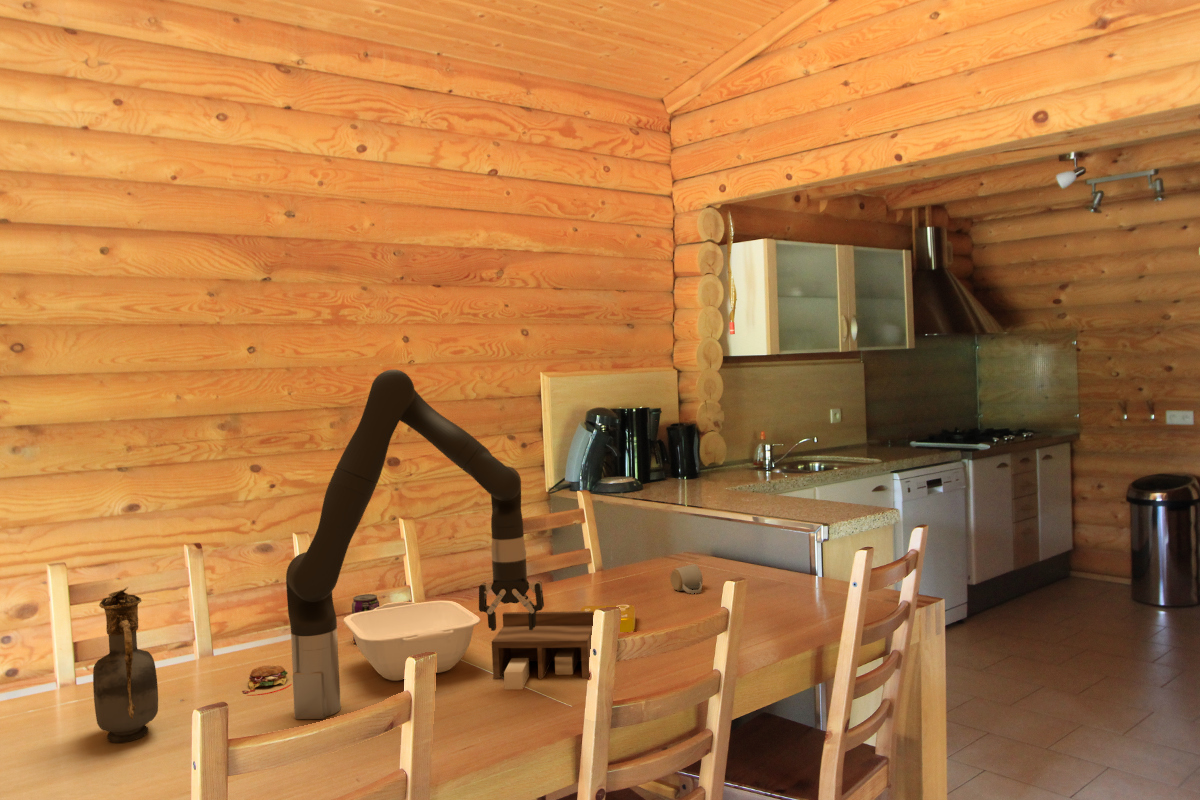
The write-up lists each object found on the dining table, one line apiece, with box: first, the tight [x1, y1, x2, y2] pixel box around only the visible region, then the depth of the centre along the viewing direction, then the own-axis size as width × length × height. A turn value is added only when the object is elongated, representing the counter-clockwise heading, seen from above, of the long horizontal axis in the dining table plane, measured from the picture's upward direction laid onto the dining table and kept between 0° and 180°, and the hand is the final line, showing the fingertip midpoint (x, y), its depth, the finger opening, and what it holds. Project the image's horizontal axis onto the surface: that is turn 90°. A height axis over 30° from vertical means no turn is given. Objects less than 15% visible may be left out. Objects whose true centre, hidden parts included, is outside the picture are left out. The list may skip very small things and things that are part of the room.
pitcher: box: [92, 586, 159, 744], centre depth 177 cm, size 11×19×30 cm, turn 33°
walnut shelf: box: [491, 610, 594, 680], centre depth 210 cm, size 14×22×12 cm, turn 84°
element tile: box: [580, 604, 636, 632], centre depth 244 cm, size 15×15×5 cm
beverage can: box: [351, 593, 380, 643], centre depth 238 cm, size 7×7×12 cm
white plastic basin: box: [343, 600, 481, 682], centre depth 213 cm, size 34×28×13 cm
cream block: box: [503, 658, 530, 690], centre depth 202 cm, size 10×4×4 cm, turn 176°
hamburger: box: [241, 665, 293, 697], centre depth 206 cm, size 14×14×6 cm
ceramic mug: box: [669, 563, 704, 595], centre depth 280 cm, size 11×8×8 cm
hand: (512, 629), depth 199 cm, fingers open, 8 cm apart
